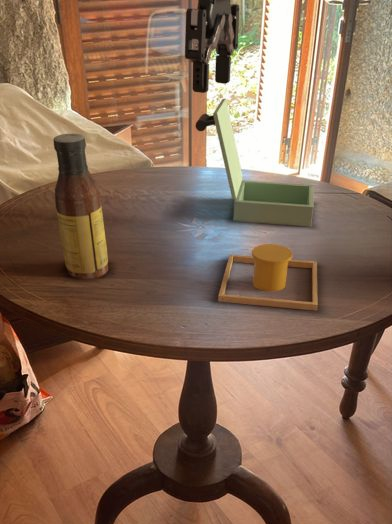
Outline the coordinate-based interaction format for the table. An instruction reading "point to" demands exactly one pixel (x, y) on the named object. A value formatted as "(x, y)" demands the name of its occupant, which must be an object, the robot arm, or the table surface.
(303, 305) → the tray
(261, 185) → the green storage bin
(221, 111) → the lid
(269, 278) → the cylinder
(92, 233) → the sauce bottle
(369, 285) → the table surface
